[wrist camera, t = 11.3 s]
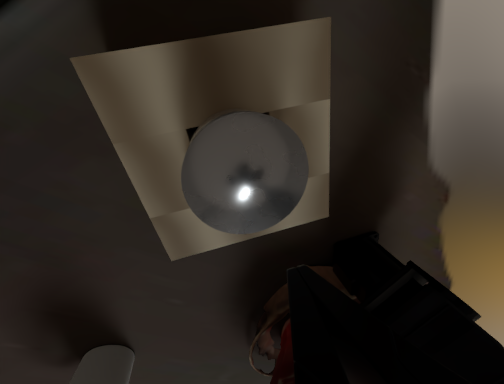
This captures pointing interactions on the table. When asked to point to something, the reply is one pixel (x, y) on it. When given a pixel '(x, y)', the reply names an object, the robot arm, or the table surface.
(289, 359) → the stew
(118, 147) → the hitch block
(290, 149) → the pin
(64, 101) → the table surface
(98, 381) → the mug
